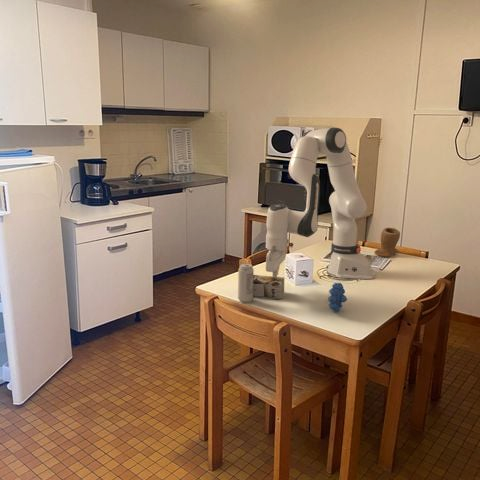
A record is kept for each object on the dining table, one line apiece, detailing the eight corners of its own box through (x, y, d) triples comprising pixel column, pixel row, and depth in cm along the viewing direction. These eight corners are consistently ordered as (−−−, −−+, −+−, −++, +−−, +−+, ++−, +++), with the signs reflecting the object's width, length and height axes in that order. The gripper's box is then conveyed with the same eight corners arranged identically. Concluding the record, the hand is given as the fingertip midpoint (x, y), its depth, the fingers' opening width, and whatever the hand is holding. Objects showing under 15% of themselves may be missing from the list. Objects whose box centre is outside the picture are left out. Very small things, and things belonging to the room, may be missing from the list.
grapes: (339, 319, 179) (341, 288, 176) (323, 314, 183) (324, 284, 180) (352, 309, 188) (354, 280, 185) (336, 305, 192) (338, 276, 189)
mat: (283, 290, 208) (283, 289, 207) (277, 300, 197) (277, 299, 196) (248, 285, 212) (248, 284, 212) (240, 295, 201) (240, 294, 201)
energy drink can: (244, 296, 200) (244, 262, 196) (255, 300, 196) (256, 265, 192) (235, 300, 195) (235, 265, 191) (246, 304, 191) (247, 268, 188)
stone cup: (392, 260, 253) (394, 232, 249) (371, 255, 261) (373, 228, 257) (404, 254, 264) (406, 227, 260) (383, 250, 272) (386, 224, 268)
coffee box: (282, 284, 195) (243, 280, 198) (281, 298, 197) (242, 295, 200) (284, 276, 204) (247, 273, 207) (284, 290, 206) (247, 287, 209)
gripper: (278, 251, 187) (276, 284, 190) (289, 238, 205) (288, 269, 209) (262, 249, 189) (261, 282, 192) (275, 237, 207) (274, 268, 211)
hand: (275, 275), depth 201 cm, fingers closed
